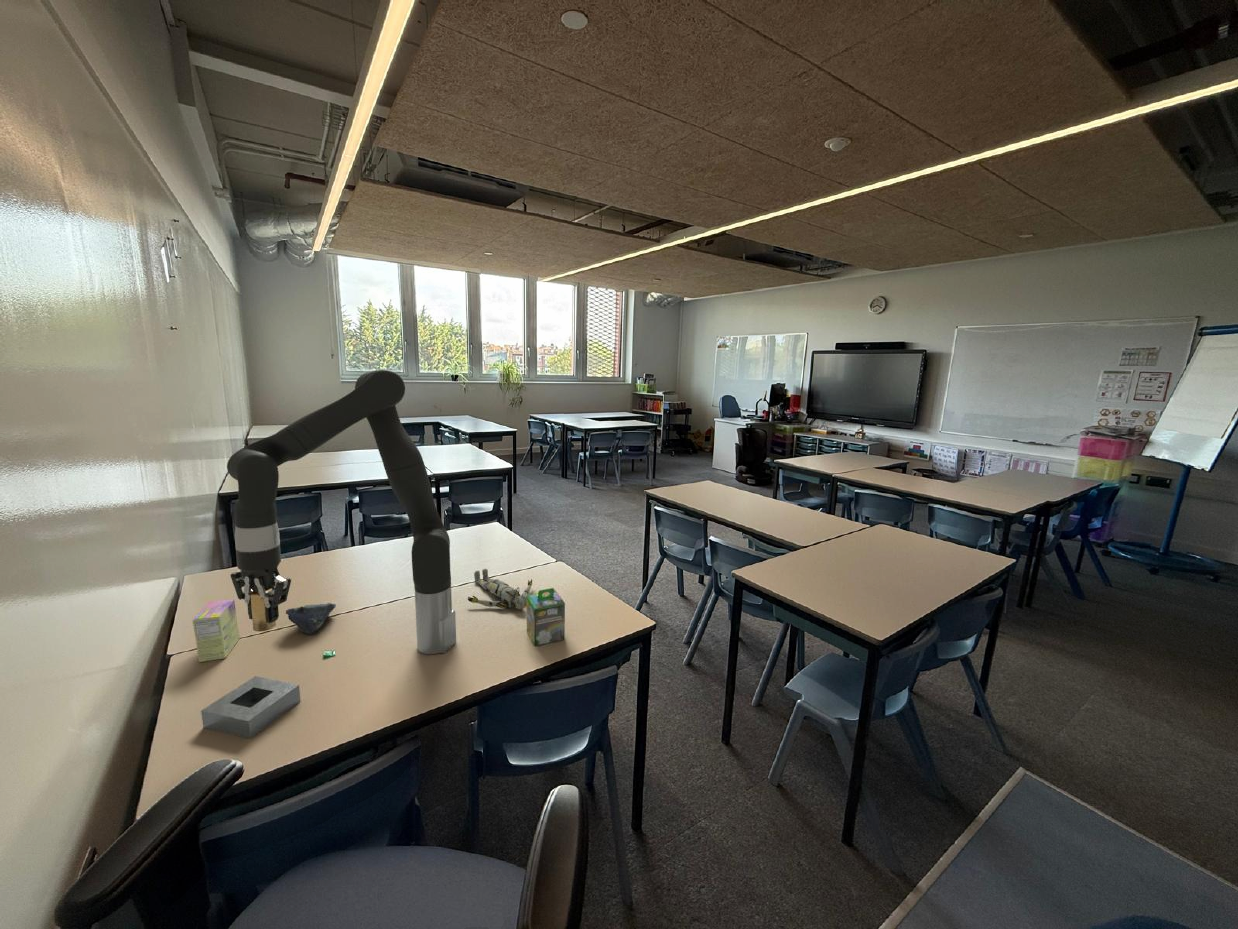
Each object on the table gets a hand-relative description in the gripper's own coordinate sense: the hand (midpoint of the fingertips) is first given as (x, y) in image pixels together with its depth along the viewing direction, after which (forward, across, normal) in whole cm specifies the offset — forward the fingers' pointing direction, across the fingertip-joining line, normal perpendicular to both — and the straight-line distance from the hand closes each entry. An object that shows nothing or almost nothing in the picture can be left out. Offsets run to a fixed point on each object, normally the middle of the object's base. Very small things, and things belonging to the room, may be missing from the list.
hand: (263, 619), depth 106 cm
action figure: (+19, -24, -64) cm, 70 cm away
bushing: (+2, 0, 0) cm, 2 cm away
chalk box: (+19, -48, -44) cm, 68 cm away
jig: (+20, 0, +4) cm, 21 cm away
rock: (+21, +19, -30) cm, 41 cm away
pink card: (+21, +2, -19) cm, 28 cm away
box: (+21, +31, -13) cm, 40 cm away
